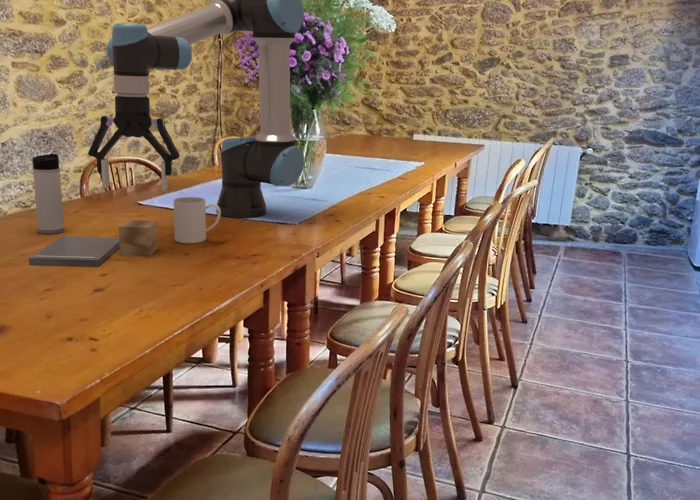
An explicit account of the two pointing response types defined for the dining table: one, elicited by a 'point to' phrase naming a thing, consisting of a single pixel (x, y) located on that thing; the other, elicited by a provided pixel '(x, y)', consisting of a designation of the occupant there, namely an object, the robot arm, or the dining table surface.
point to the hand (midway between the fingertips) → (135, 188)
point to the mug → (191, 219)
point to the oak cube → (137, 238)
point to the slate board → (76, 251)
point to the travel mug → (48, 194)
